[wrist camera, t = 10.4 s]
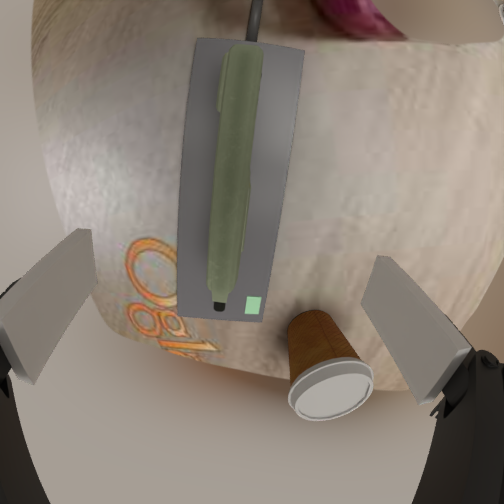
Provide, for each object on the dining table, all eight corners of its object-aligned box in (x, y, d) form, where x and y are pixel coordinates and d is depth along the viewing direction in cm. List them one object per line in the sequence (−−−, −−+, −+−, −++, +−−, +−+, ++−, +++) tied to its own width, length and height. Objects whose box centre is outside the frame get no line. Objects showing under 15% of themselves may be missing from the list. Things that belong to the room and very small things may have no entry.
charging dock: (212, -22, 18) (211, -29, 16) (308, -9, 19) (312, -15, 17) (179, 308, 33) (177, 316, 32) (260, 314, 34) (261, 323, 33)
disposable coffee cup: (319, 359, 39) (341, 425, 28) (262, 344, 37) (273, 418, 26) (357, 311, 36) (394, 376, 25) (298, 289, 33) (325, 362, 22)
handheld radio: (264, 67, 22) (235, 304, 32) (228, 63, 21) (206, 301, 31) (270, 47, 15) (233, 344, 26) (222, 42, 15) (198, 340, 25)
